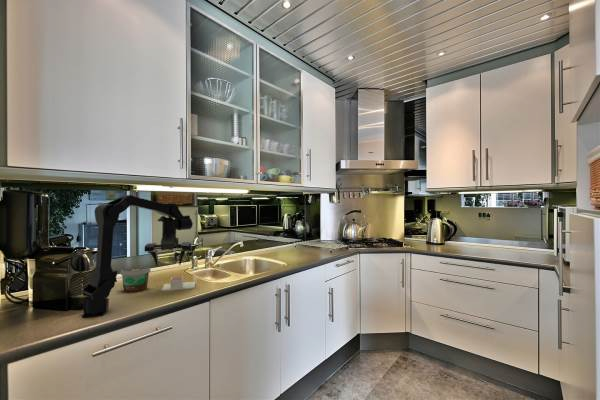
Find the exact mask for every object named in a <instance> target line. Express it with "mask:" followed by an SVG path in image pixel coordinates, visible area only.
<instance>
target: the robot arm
mask: <svg viewBox="0 0 600 400" xmlns="http://www.w3.org/2000/svg"><path fill="white" fill-rule="evenodd" d="M130 207H136V208H140V209H144V210H148V211H149V210H150V211H153V212H156V213H157V214H159V215H161V216H160V217H159V218H158V219H157V222H162V223H161V225H162V227H161V229H162V230H161V231H162V232H161V240H160V244H157V242H152V243H151V242H150V243H149V242H148V243H147V244H145V246H144V252H147V253H148V254H150V255H151V256H152V257H153V260H154V262H155V265H156V267H159V255H158V250H161V251H166V250H168V251H172V250H174V249H181V250H180V255H179V262H178V266H181V264H182V260H183V258H184V256H185V253H186V252H189V250H190V251H191V250H192V242H191V241H182V243H179V237H177V231H185V230H186V231H187V230H191V229H192V228H193V224H194V223H193V220H192V219H191V215H183V213H182V212H181V210H180V208H179V206H178V204H176V203H169V202H158V201H154V200H150V199H146V198H140V197H137V196H134V195H133V194H132V195H131V194H124V195H122V196H120V197H118V198H116V199H113V200H111V201H109V202H107V203H102V204H99V205H97V206H96V207H95V209H94V219H95V223H96V225H97V227H98V230H97V231H98V232H97V234H98V235H97V245H96V259H95V267H94V269H93V271H92V273H91V275H90V278H89V282H88V283H87V285H86V286H84V287H83V289H82V290H81V294H82V296H83V297H84V298H83V314H82V315H81V318H90V317H92V318H93V317H101V316H104V315H105V314H106V312H108V310H109V307H110V306H109V305H110V304H109V303H110V300H109V299H110V298H109V296H110V294H111V292H112V289H114V288H115V285H116V283H117V282H118V280H117V277H118V276H117V275H118V270H116V269H113V267H112V258H113V257H112V256H113V244H114V242H113V241H114V229H115V227H116V225H117V224H118V221H119V217H120V214H122V213H123V212H124V211H126V210H127V209H128V208H130Z"/></svg>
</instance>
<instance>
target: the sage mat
mask: <svg viewBox="0 0 600 400" xmlns="http://www.w3.org/2000/svg"><path fill="white" fill-rule="evenodd" d="M170 286H171V282H170V283H164V284H163V286H162V289H161V292H170V291H171V292H172V291H184V290H192V289H193V290H194V289H195V287H196V281H185V282H184V281H183V286H182V288H178V289H170Z"/></svg>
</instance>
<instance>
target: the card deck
mask: <svg viewBox="0 0 600 400" xmlns="http://www.w3.org/2000/svg"><path fill="white" fill-rule="evenodd" d="M183 282H184V275H176V276H175V275H174V276H171V279H170V283H171V286H170V289H178V288H182V286H183Z"/></svg>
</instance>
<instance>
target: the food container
mask: <svg viewBox="0 0 600 400" xmlns="http://www.w3.org/2000/svg"><path fill="white" fill-rule="evenodd" d="M151 271H152V270H151V268H150V267H146V268H144V269H142V268H133V269H125V270H124V269H123V268H121V270H120V272H119V273H120V276H121V277H122V280H121V281H122V289H123V292H124V293H129V294H131V293H132V294H134V293H140V292H144V291H145V290H147V289H148V281H149V275H150V272H151Z"/></svg>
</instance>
